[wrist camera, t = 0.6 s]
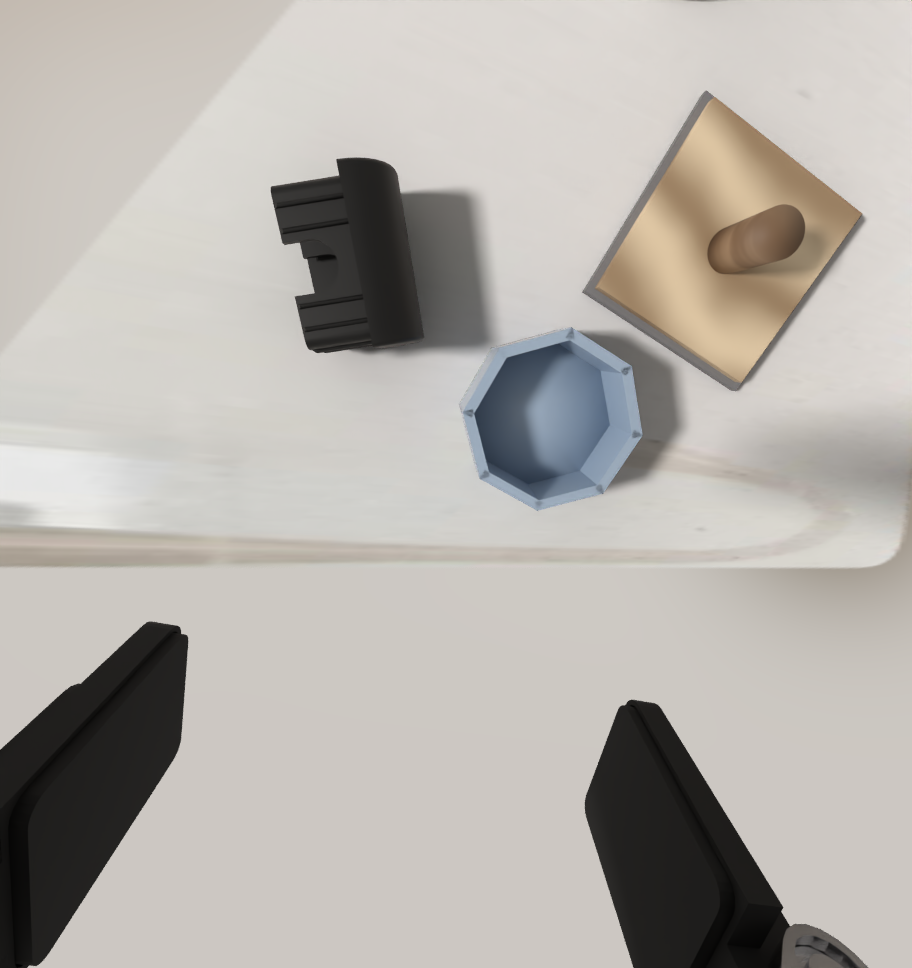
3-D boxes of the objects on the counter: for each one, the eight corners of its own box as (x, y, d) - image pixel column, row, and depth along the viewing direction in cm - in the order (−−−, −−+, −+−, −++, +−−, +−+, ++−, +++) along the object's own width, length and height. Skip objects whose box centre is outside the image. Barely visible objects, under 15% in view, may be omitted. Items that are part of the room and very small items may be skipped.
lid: (707, 103, 31) (767, 47, 25) (852, 216, 33) (936, 189, 27) (594, 288, 34) (626, 275, 28) (734, 381, 36) (789, 387, 30)
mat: (701, 95, 31) (706, 90, 30) (854, 216, 33) (862, 213, 33) (582, 292, 34) (584, 291, 34) (731, 390, 36) (735, 391, 36)
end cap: (425, 341, 35) (423, 339, 28) (330, 356, 35) (306, 358, 28) (401, 189, 32) (391, 148, 26) (297, 206, 32) (262, 169, 26)
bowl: (515, 306, 34) (527, 298, 29) (641, 386, 36) (672, 391, 31) (437, 441, 37) (437, 455, 32) (559, 510, 39) (576, 532, 34)
